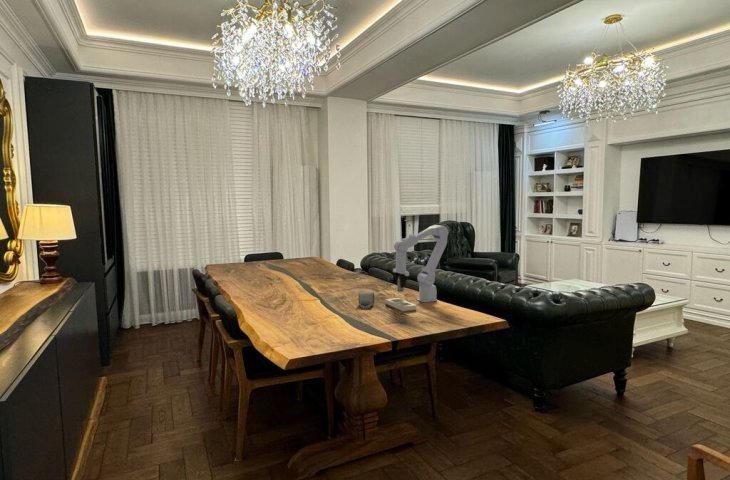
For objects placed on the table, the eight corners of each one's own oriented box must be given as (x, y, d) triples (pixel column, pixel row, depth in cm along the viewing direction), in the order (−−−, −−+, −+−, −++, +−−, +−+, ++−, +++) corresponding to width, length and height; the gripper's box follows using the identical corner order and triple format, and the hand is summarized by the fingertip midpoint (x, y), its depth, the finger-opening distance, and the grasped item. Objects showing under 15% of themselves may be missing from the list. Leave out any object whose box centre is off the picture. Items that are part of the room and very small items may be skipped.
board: (398, 303, 236) (398, 297, 236) (416, 310, 220) (416, 305, 220) (385, 304, 232) (385, 299, 232) (403, 312, 216) (403, 306, 216)
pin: (401, 289, 238) (401, 275, 237) (405, 291, 235) (405, 276, 234) (396, 290, 236) (396, 276, 235) (399, 291, 233) (399, 277, 232)
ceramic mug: (359, 303, 235) (359, 290, 234) (374, 304, 234) (374, 290, 233) (357, 309, 225) (357, 294, 224) (372, 309, 224) (372, 295, 223)
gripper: (388, 261, 239) (388, 285, 240) (401, 264, 226) (401, 290, 227) (399, 260, 242) (398, 283, 243) (412, 264, 229) (412, 288, 230)
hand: (400, 286), depth 235 cm, fingers closed on pin, 3 cm apart
